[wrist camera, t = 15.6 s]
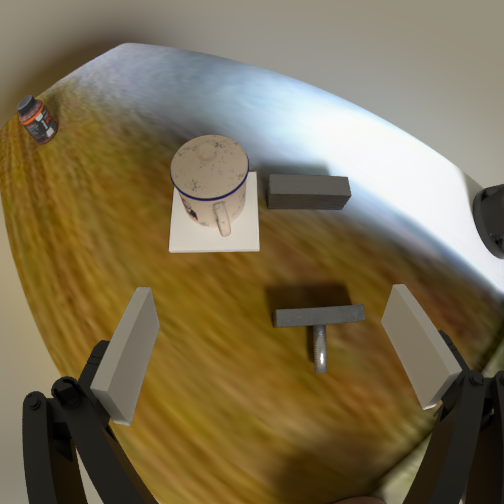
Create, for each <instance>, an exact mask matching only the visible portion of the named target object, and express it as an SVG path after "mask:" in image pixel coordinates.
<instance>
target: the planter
mask: <svg viewBox="0 0 504 504" xmlns="http://www.w3.org/2000/svg"><path fill="white" fill-rule="evenodd" d="M334 504H386V503H385V502H384V501H382V500H381V499H378V498H375V497H367V496H363V497H354V498H349V499H345V500H342V501H339V502H336V503H334Z"/></svg>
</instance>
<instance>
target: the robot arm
mask: <svg viewBox="0 0 504 504" xmlns="http://www.w3.org/2000/svg"><path fill="white" fill-rule="evenodd" d="M473 213H474V219H475V223H476V226H477V229H478V232H479V234H480V237H481V239H482V241H483V242H484V244H485V246H486V247H487V248H488V250H489V251H490V252H491V253H492V254H493V255H494V256H495V257H497V258H499V259H504V184H501V185H498V186H493V187H489V188H485V189H483V190H482V191H481V192H479V193H478V194H477V195H476V196H475V199H474V203H473ZM381 323H382V325H383V327H384V329H385V331H386V333H387V335H388V337H389V339H390V341H391V343H392V344H393V346H394V348H395V350H396V352H397V354H398V356H399V358H400V361H401V363H402V365H403V367H404V369H405V371H406V373H407V375H408V377H409V379H410V382H411V384H412V386H413V388H414V390H415V393H416V395H417V397H418V399H419V402H420V404H421V406H422V408H423V410H424V409H428V408H431V407H434V406H435V405H436V404H437V403H438V402H439V401H440V399H441V400H442V402H443V404H442V405H441V406H440V408H439V409H438V410H437V411H436V412H435V414H434V415H433V417H435V416H436V415H437V414H438V413H439V414H438V417H437V420H436V424H435V427H434V430H433V433H432V436H431V439H430V442H429V444H428V447H427V450H426V453H425V455H424V458H423V460H422V463H421V465H420V467H419V470H418V472H417V474H416V477H415V479H414V481H413V483H412V485H411V488H410V490H409V492H408V494H407V496H406V498H405V500H404V502H403V503H402V504H459V502H460V499H461V496H462V493H463V490H464V488H465V485H466V482H467V479H468V486H467V494H466V501H465V504H504V371H503V370H502V371H499V372H497V373H496V375H495V376H494V377H493V378H484V377H483V375H482V374H481V373H479V372H478V371H475V370H470V369H469V367H468V366H467V364H466V363H465V361H464V359H463V358H462V356H461V355H460V353H459V351H458V350H457V348H456V347H455V345H453V342H452V341H451V339H450V338H449V336H448V335H446V334H445V333H444V332H443V331H442V330H440V331H437V329H436V328H435V326H434V325H433V323H432V322H431V320H430V319H429V318H428V316H427V315H426V313H425V312H424V310H423V309H422V308H421V306H420V305H419V303H418V302H417V301H416V299H415V298H414V297H413V295H412V294H411V293H410V291H409V290H408V289H407V287H406V286H405V285H404V284H399V285H393V287H392V291H391V294H390V297H389V300H388V303H387V306H386V309H385V312H384V315H383V318H382V320H381ZM159 328H160V325H159V321H158V317H157V313H156V309H155V304H154V300H153V296H152V291H151V288H148V287H137V289H136V291H135V293H134V295H133V297H132V299H131V300H130V302H129V304H128V306H127V308H126V310H125V312H124V314H123V316H122V318H121V320H120V322H119V324H118V326H117V328H116V331H115V333H114V335H113V337H112V339H111V341H105V340H101V341H100V342H99V343H98V344H97V345H96V346H95V347H94V348H93V350H92V353H91V355H90V357H89V359H88V361H87V364H86V365H85V367H84V369H83V371H82V374H81V376H80V378H79V380H78V382H77V380H76V379H74V378H73V377H68V376H66V377H61V378H60V379H58V380H57V381H56V382H55V383H54V384H53V386H52V389H51V394H52V396H53V397H54V398H46V397H45V396H44V394H43V393H41V392H39V391H34V392H31V393H29V394H28V395H27V396H26V398H25V399H24V402H23V419H22V423H23V425H22V426H23V427H22V429H23V430H22V431H23V432H22V434H23V457H24V470H25V479H26V486H27V493H28V499H29V504H88V503H87V499H86V495H85V491H84V487H83V483H82V479H81V475H80V470H79V464H78V459H77V454H76V449H77V451H78V453H79V455H80V457H81V460H82V462H83V464H84V467H85V469H86V471H87V473H88V475H89V477H90V479H91V481H92V483H93V485H94V486H95V489H96V490H97V492H98V494H99V496H100V498H101V499H102V501H103V503H104V504H159V503H158V502H157V501H156V499H155V498H154V497H153V495H152V494H151V493H150V491H149V490H148V488H147V487H146V485H145V484H144V483H143V481H142V480H141V478H140V477H139V475H138V474H137V472H136V470H135V469H134V467H133V466H132V464H131V462H130V461H129V459H128V458H127V456H126V454H125V452H124V451H123V449H122V447H121V445H120V444H119V442H118V440H117V438H116V436H115V435H114V433H113V431H112V429H111V427H110V425H109V424H108V423H109V420H110V417H111V418H112V420H113V421H114V422H115V423H117V424H122V425H127V426H131V422H132V418H133V415H134V411H135V407H136V404H137V400H138V396H139V393H140V389H141V386H142V382H143V379H144V376H145V372H146V369H147V366H148V363H149V359H150V356H151V353H152V350H153V347H154V343H155V340H156V337H157V334H158V331H159ZM493 409H494V414H492V410H493ZM75 446H76V447H75ZM468 475H469V476H468Z"/></svg>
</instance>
